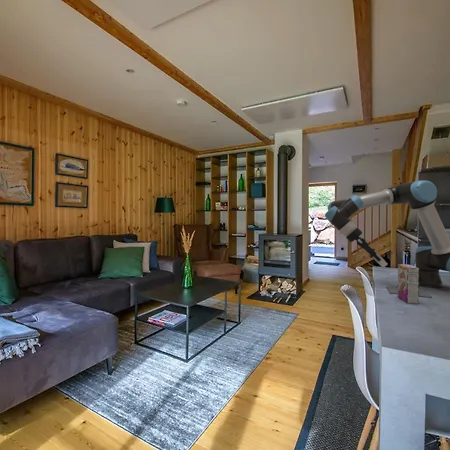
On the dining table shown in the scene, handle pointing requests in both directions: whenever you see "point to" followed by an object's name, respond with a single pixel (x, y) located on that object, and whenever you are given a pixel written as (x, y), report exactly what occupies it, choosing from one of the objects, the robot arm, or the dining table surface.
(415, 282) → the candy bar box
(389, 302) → the dining table surface
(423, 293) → the rubber mat
